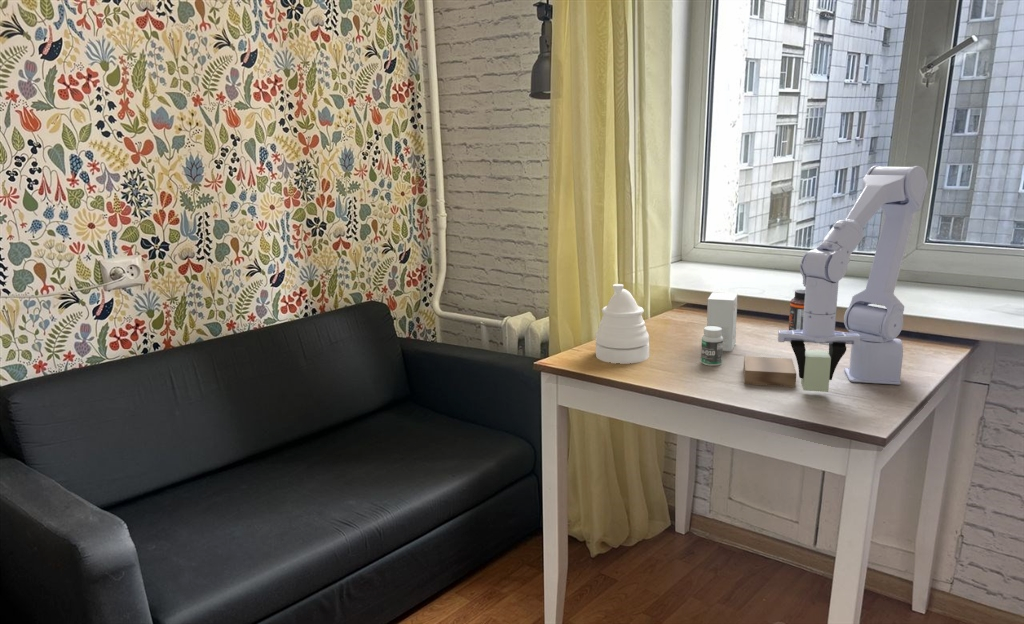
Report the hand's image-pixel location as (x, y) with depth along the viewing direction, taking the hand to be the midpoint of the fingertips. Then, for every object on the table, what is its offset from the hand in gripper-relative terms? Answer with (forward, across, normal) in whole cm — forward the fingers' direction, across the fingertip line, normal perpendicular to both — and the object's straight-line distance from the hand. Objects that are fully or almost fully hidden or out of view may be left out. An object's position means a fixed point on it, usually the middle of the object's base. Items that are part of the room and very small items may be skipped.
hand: (815, 377), depth 133 cm
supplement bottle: (+4, +2, +47) cm, 47 cm away
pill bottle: (+4, -20, +17) cm, 27 cm away
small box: (+4, -18, +31) cm, 36 cm away
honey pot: (+4, -41, +19) cm, 45 cm away
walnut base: (+4, -8, +9) cm, 13 cm away
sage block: (+2, 0, 0) cm, 2 cm away
